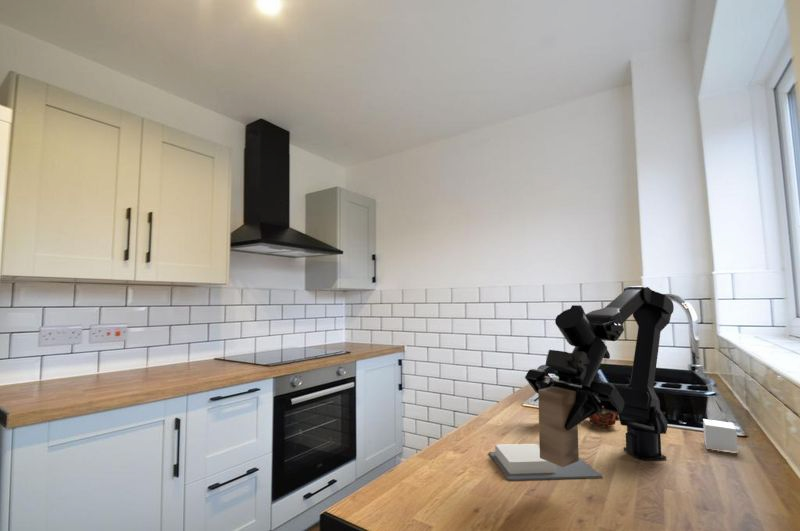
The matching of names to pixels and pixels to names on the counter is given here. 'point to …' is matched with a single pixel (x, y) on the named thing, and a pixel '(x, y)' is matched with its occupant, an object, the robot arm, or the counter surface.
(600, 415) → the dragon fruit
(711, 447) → the white cube
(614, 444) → the counter surface
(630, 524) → the counter surface
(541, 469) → the build board
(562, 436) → the walnut pillar block
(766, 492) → the counter surface
